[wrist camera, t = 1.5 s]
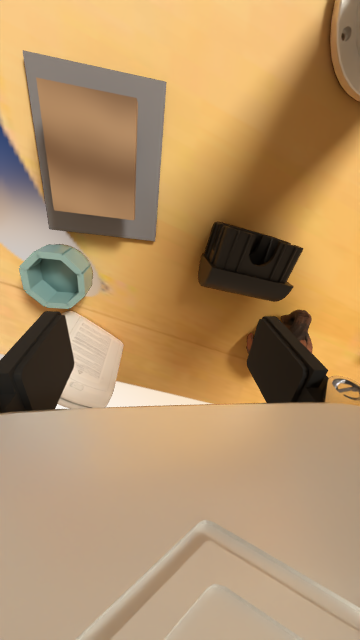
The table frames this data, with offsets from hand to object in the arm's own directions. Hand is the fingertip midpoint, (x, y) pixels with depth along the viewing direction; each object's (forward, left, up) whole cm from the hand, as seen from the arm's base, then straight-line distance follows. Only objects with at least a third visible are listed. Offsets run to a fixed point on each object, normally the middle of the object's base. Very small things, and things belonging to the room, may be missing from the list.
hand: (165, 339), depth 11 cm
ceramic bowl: (+4, -12, -20) cm, 23 cm away
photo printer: (+13, -9, -20) cm, 26 cm away
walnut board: (-8, -7, -17) cm, 20 cm away
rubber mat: (-8, -7, -20) cm, 22 cm away
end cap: (0, +10, -20) cm, 23 cm away
